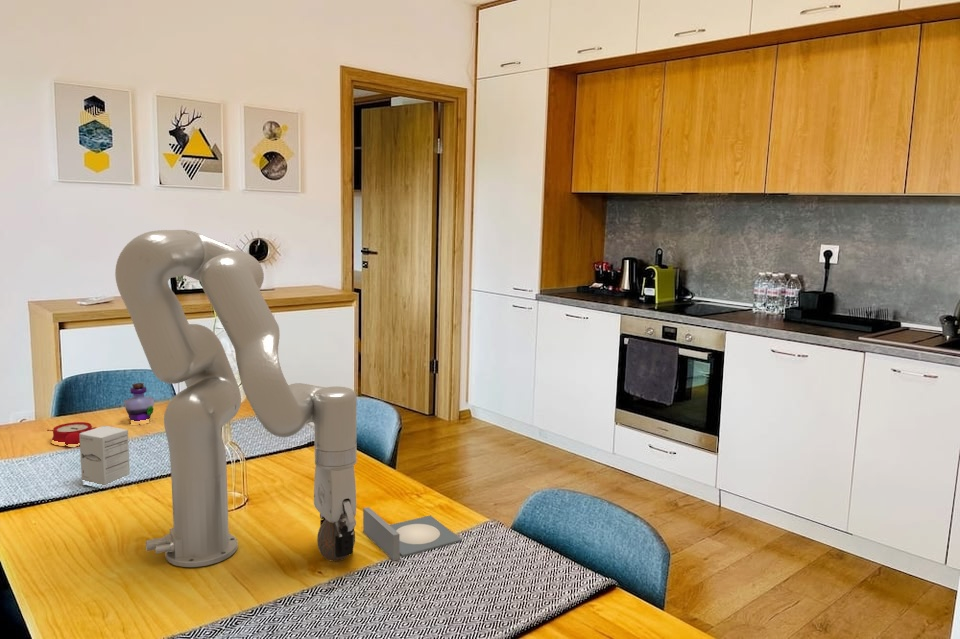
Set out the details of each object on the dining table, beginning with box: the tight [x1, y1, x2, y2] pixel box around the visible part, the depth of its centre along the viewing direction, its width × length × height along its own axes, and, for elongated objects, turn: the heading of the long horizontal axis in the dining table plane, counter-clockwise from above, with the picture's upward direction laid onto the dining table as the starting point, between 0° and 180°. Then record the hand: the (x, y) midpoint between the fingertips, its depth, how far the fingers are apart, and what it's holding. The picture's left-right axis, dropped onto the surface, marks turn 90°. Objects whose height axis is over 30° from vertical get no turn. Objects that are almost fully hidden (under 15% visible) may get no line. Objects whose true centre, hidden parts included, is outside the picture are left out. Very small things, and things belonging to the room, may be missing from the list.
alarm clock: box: [46, 421, 97, 445], centre depth 192 cm, size 10×6×15 cm
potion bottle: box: [123, 382, 155, 421], centre depth 210 cm, size 9×9×12 cm
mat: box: [389, 515, 463, 558], centre depth 140 cm, size 13×13×1 cm
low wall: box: [362, 506, 400, 562], centre depth 136 cm, size 1×14×5 cm, turn 33°
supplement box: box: [79, 425, 131, 485], centre depth 163 cm, size 7×7×13 cm
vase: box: [316, 515, 356, 562], centre depth 131 cm, size 7×7×9 cm
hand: (336, 546), depth 131 cm, fingers closed on vase, 6 cm apart
